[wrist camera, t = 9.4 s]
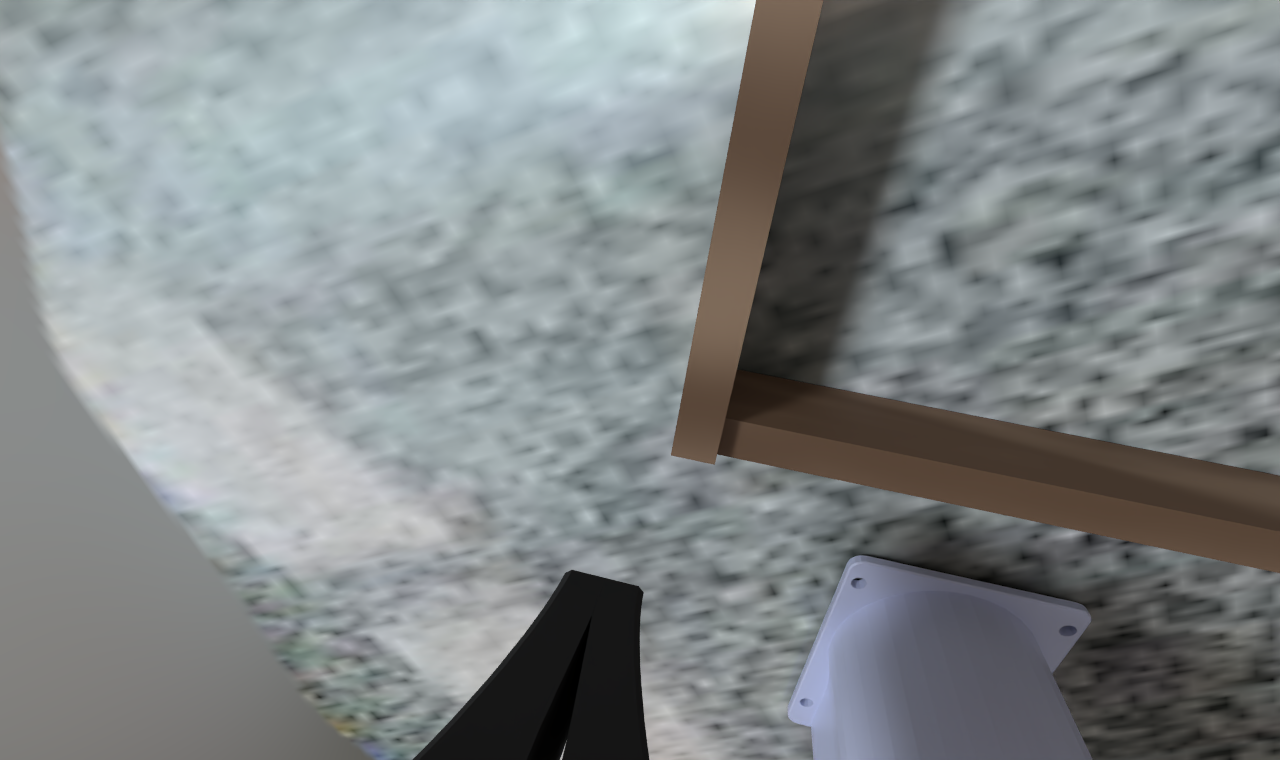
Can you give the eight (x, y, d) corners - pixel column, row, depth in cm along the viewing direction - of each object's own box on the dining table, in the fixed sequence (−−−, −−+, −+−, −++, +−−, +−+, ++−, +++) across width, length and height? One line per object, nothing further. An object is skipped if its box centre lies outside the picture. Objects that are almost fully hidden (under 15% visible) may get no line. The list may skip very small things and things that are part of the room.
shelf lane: (1390, 535, 17) (1526, 637, 14) (685, 392, 19) (670, 455, 16) (2187, -252, 9) (2909, -413, 6) (827, -353, 11) (851, -509, 8)
